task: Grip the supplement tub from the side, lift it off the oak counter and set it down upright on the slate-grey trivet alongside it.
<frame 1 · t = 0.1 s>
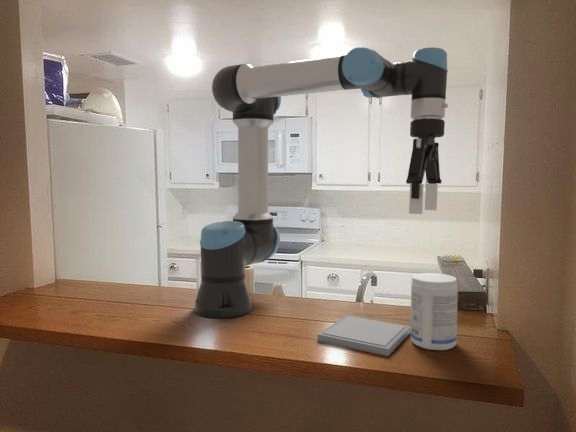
hand: (423, 212, 105), 28 cm above the countertop, tool pointing down, fingers open, 13 cm apart
trivet: (365, 336, 102), on the countertop
supplement tub: (432, 344, 98), on the countertop
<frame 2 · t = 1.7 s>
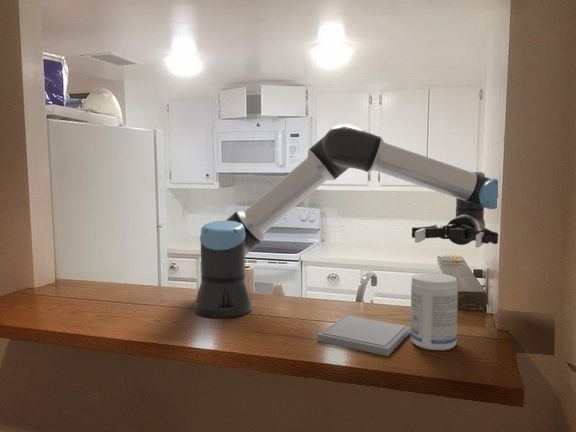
hand: (446, 239, 105), 22 cm above the countertop, tool horizontal, fingers open, 13 cm apart
nothing on the countertop moved.
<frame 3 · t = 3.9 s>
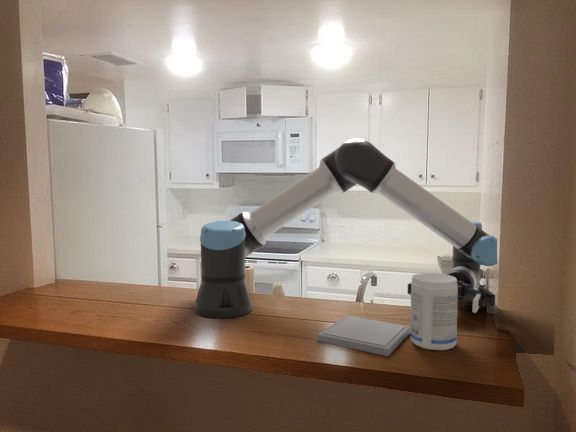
hand: (442, 302, 102), 8 cm above the countertop, tool horizontal, fingers open, 13 cm apart
nothing on the countertop moved.
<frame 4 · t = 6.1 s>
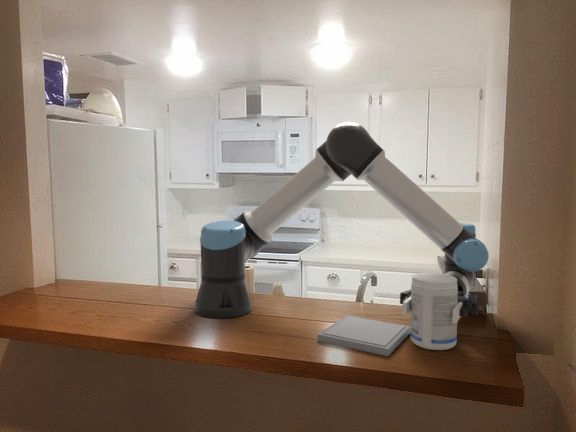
hand: (428, 312, 94), 8 cm above the countertop, tool horizontal, fingers closed on supplement tub, 9 cm apart
supplement tub: (432, 344, 98), on the countertop, touching gripper
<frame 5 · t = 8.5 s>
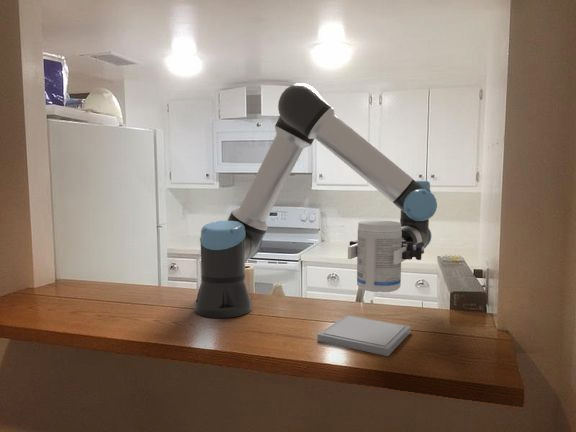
hand: (371, 255, 96), 19 cm above the countertop, tool horizontal, fingers closed on supplement tub, 9 cm apart
supplement tub: (377, 288, 100), point 11 cm above the countertop, touching gripper
when the fingers open (11 cm above the countertop, at t = 10.9 s): supplement tub drops 1 cm, resting on trivet.
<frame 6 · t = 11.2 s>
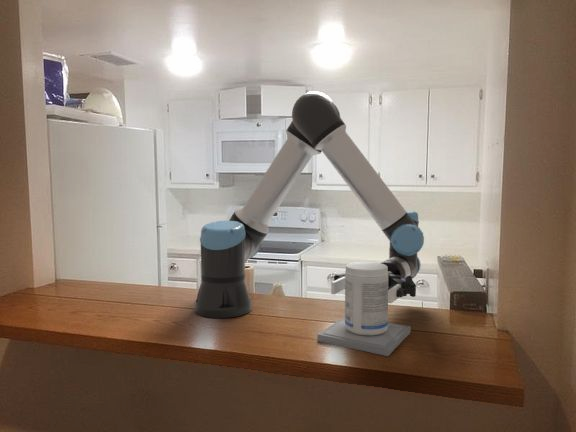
hand: (360, 292, 98), 11 cm above the countertop, tool horizontal, fingers open, 12 cm apart
supplement tub: (365, 330, 102), point 1 cm above the countertop, touching trivet
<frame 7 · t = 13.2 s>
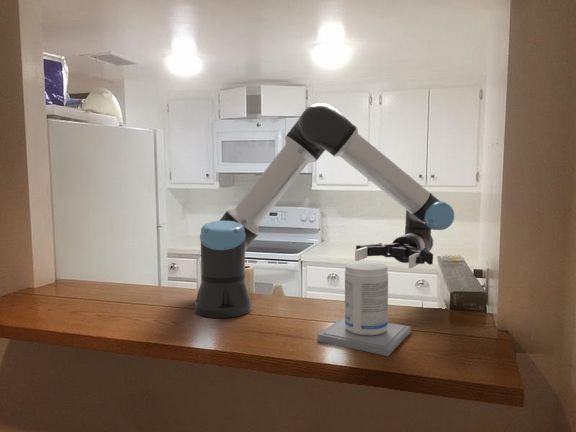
hand: (382, 258, 110), 16 cm above the countertop, tool horizontal, fingers open, 13 cm apart
nothing on the countertop moved.
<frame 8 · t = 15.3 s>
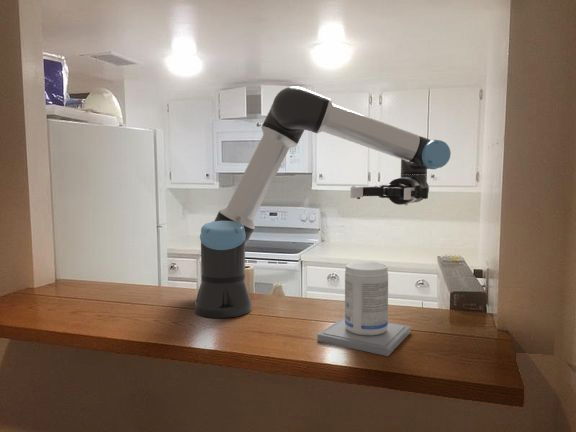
hand: (377, 193, 110), 32 cm above the countertop, tool horizontal, fingers open, 13 cm apart
nothing on the countertop moved.
at the end: supplement tub inside the target area on the trivet (0.1 cm from its centre), point 1.5 cm above the trivet's base; supplement tub tilted 0°; the gripper is holding nothing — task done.
